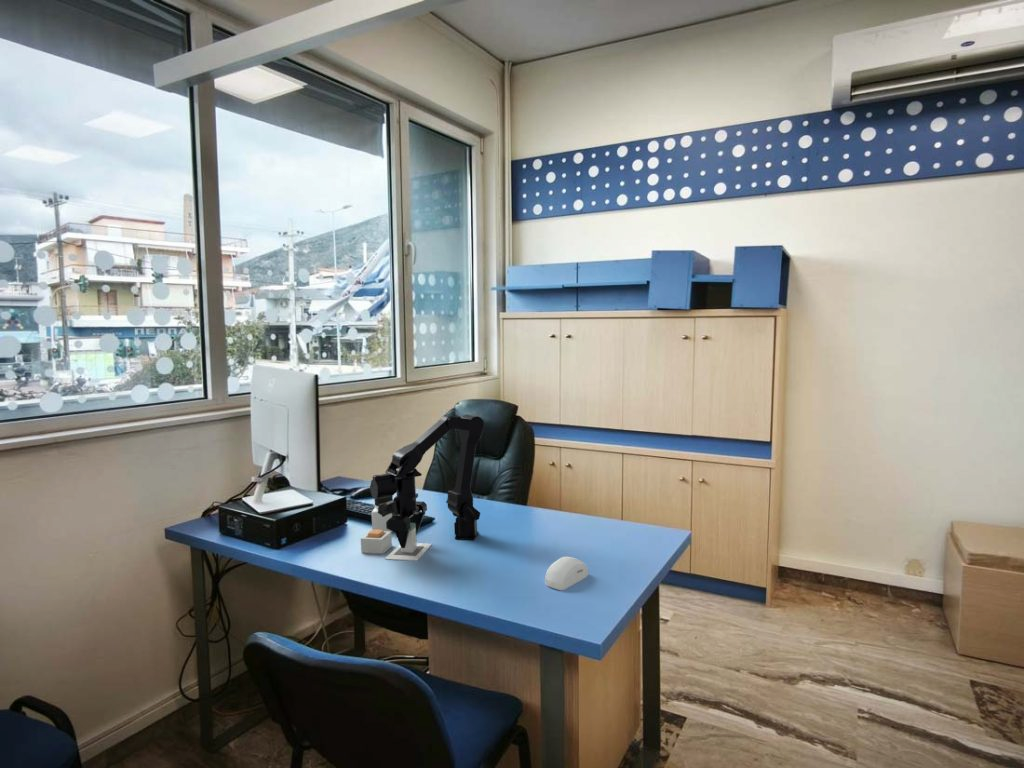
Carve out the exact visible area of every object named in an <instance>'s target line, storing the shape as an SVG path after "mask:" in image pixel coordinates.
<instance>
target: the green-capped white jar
mask: <svg viewBox="0 0 1024 768" xmlns="http://www.w3.org/2000/svg"><path fill="white" fill-rule="evenodd" d="M410 526H411V528H410V532H409V535H408V539H407V543H406V546H405V548H401V552H408V553H413V552H414V551H415V550H416V548H417V544H416V543H417V535H416V525H415V523H410Z"/></svg>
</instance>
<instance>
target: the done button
mask: <svg viewBox="0 0 1024 768" xmlns="http://www.w3.org/2000/svg"><path fill="white" fill-rule="evenodd" d="M369 531H370V532H369ZM369 531H368V532H369V533H368V532H367V533H368V538H381V537H382V536H383V535H384V530H379V529H373V530H372V529H371V530H369Z"/></svg>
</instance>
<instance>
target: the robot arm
mask: <svg viewBox="0 0 1024 768" xmlns="http://www.w3.org/2000/svg"><path fill="white" fill-rule="evenodd" d="M484 427H485V421H484V420H483V418H482V417H480V416H479V415H478V416H477V415H473V414H464V415H462V416H458V415H457V416H456V415H449V414H443V415H442V416H441V417H440V419H439V420H438V421H437V422H436V423H434V424H433V425H432V426H431V427H430V428H428V429H427V430H426V431H425V432H424V433H423V434H421V435H420V437H418V439H416V440H415V441H413V442H411V443H410V444H407V445H404V446H403V447H401V448H399V449H398V450H396V451H395V452H394V453H393V454H392V456H391V457H392V459H391V461H390V463H389V465H388V467H387V469H386V470H385V473H382V474H374V475H372V480H371V481H370V485H369V491H370V495H371V497H372V498H373V499H374V500H375V499H378V498H383V497H387V496H392V495H393V500H392V501H389V502H386V503H385V502H384V503H383V504H380V505H379V506H378V513H379V514H380V515H382V517H384V516H386V515H388V514H391V513H393V512H394V515H397V516H392V517H391V518H390V519H389V520H388V521H387V522H386V528H387V529H389V530H391V531H393V532H392V533H394V534H395V535H396V538H397V541H398V543H399V545H400V546H401V548H405V546H406V543H407V539H408V535H409V532H410V528H411V526H410V523H415V525H416V536H417V535H418V532H419V530H420V527H421V524H422V522H423V520H424V518H425V515H426V512H427V511H428V507H427V506H428V505H427V503H426V502H425V501H417V498H418V497H419V493H417V490H416V489H417V488H416V477H417V478H418V477H421V476H422V473H421V472H419V471H418V469H417V467H418V465H419V464H420V463H421V461H422V460H423V457H424V455H425V454H426V452H428V451H429V450H430V449H431V448H432V447H434V446H435V444H437V443H438V442H439V441H440V440H441V439H442V438H443V437H445V436H446V434H448V433H449V432H451V430H452V429H455V430H456V429H457V430H458V434H459V438H460V450H459V457H458V465H457V473H456V480H455V485H454V488H453V489H452V490H448V491H447V498H446V501H445V503H446V504H447V509H448V510H449V511H450V512H451V513H452V515H453V516H454V517H456V518H455V522H454V540H472V541H473V540H475V539H476V537H478V536H479V534H480V532H479V531H478V520H480V517H481V512H480V511H479V510H477V508H475V506H474V497H473V493H472V489H471V486H472V478H473V473H474V472H473V470H474V463H475V457H476V448H477V443H478V442H479V441H480V439H481V438H482V436H483V432H484ZM395 494H396V496H395ZM394 496H395V497H394Z"/></svg>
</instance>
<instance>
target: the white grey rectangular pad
mask: <svg viewBox="0 0 1024 768" xmlns="http://www.w3.org/2000/svg"><path fill="white" fill-rule="evenodd" d="M416 544H417V548H416V550H415V551H414V552H413V553H408V552H401V546H400V544H399V545H397V547H395V548H394V549H393V550H392V551H391V552H390V553H389V554H388V555H387V556H386V557H385V558H384V559H385V560H393V561H409V562H410V561H411V562H412V561H413V562H418V561H419V560H420V558H422V557H423V555H424V554H425V553H426V552H427V551H428V550H429V549H430V547H432V544H433V543H426V542H425V543H424V542H423V543H422V542H421V543H419V542H416Z"/></svg>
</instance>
